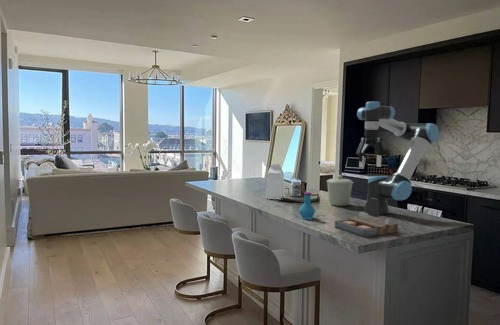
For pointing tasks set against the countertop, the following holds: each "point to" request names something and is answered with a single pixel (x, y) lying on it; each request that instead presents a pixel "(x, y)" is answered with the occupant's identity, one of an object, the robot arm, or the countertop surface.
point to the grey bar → (373, 213)
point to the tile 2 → (364, 227)
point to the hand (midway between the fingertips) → (370, 167)
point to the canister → (339, 191)
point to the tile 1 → (350, 223)
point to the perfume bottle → (307, 207)
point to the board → (376, 226)
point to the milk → (275, 182)
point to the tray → (355, 229)
